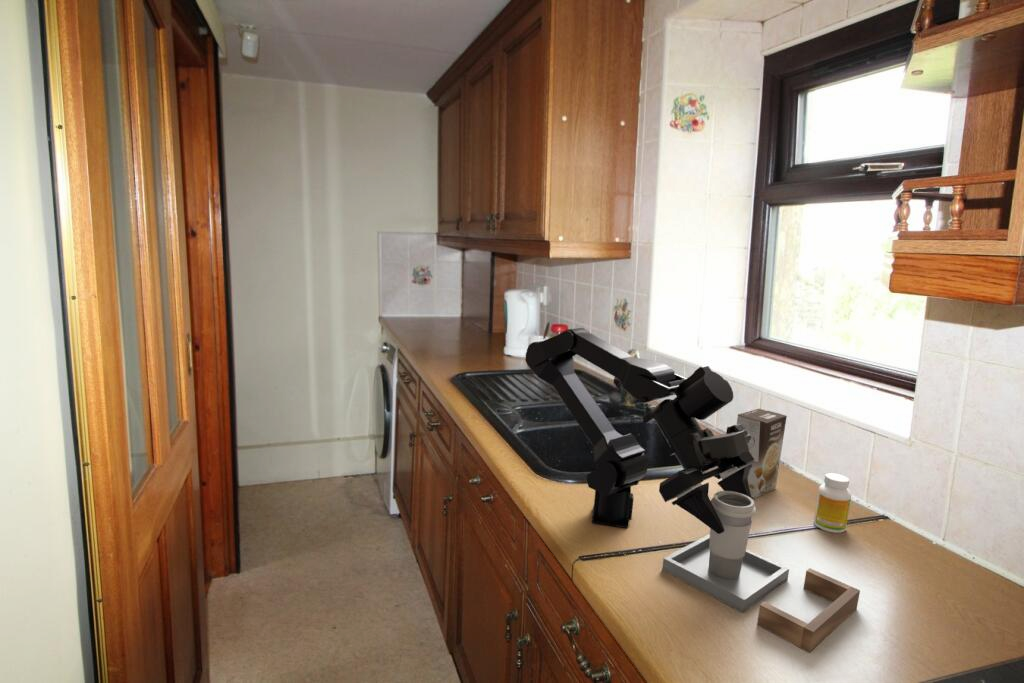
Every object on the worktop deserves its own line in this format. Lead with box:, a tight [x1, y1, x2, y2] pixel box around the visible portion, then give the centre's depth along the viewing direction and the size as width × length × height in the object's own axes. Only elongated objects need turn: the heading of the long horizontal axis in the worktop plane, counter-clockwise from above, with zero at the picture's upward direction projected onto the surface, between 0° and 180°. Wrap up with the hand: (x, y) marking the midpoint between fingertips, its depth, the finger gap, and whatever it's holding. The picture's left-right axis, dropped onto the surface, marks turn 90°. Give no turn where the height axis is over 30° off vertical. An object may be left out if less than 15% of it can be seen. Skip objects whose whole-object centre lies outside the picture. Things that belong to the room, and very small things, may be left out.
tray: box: [662, 533, 790, 613], centre depth 98 cm, size 14×14×2 cm
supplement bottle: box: [813, 472, 852, 534], centre depth 116 cm, size 5×5×10 cm
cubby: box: [756, 568, 861, 654], centre depth 89 cm, size 7×15×3 cm, turn 131°
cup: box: [709, 490, 757, 579], centre depth 97 cm, size 7×7×12 cm
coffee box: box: [736, 408, 787, 499], centre depth 131 cm, size 9×6×16 cm
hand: (738, 524), depth 96 cm, fingers open, 9 cm apart
